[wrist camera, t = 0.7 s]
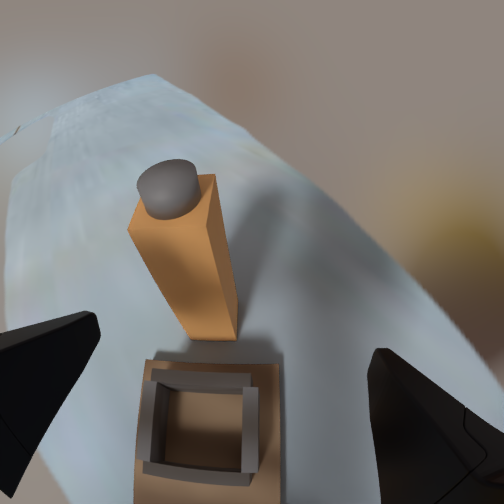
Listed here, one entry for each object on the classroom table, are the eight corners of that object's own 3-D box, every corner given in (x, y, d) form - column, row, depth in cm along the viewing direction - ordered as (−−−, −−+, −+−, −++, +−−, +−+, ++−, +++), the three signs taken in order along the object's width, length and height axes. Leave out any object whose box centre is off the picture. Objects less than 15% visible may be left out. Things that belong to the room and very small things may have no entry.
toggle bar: (236, 340, 24) (200, 200, 12) (191, 339, 24) (116, 207, 12) (238, 300, 26) (211, 151, 14) (195, 300, 26) (141, 158, 14)
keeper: (279, 531, 13) (281, 547, 9) (139, 515, 13) (115, 524, 10) (278, 367, 22) (280, 351, 19) (150, 363, 22) (131, 346, 19)
